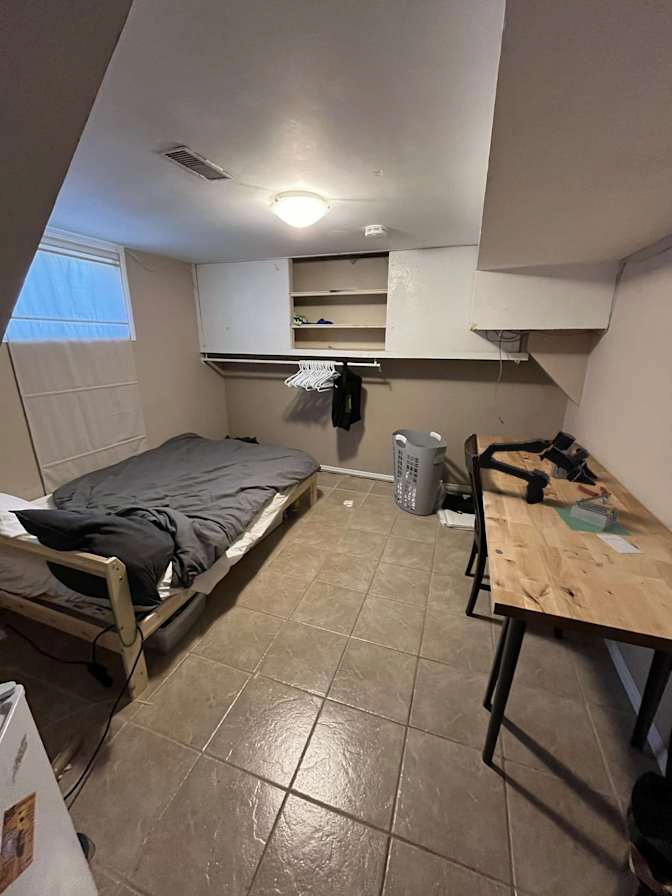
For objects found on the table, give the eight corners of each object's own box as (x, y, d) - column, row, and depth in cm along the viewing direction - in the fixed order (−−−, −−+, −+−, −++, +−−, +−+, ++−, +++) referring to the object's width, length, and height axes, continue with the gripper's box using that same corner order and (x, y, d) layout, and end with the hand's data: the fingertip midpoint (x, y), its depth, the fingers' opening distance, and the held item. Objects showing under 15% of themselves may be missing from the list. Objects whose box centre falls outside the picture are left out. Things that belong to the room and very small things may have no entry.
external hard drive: (618, 557, 122) (594, 537, 134) (643, 557, 122) (617, 538, 134) (619, 552, 122) (595, 534, 133) (644, 553, 121) (618, 534, 133)
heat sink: (568, 518, 146) (571, 501, 144) (583, 511, 152) (586, 494, 150) (602, 531, 136) (606, 512, 134) (616, 523, 142) (621, 505, 140)
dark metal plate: (579, 503, 146) (578, 501, 146) (582, 501, 147) (581, 499, 147) (608, 496, 137) (607, 494, 137) (611, 494, 138) (610, 492, 138)
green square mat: (570, 532, 137) (571, 529, 137) (552, 509, 156) (553, 507, 155) (631, 538, 133) (632, 536, 132) (605, 514, 152) (606, 512, 151)
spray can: (567, 475, 196) (574, 439, 191) (567, 480, 190) (574, 443, 184) (549, 472, 201) (556, 437, 195) (549, 477, 194) (555, 440, 189)
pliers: (591, 504, 162) (592, 499, 161) (576, 488, 181) (577, 483, 180) (621, 508, 159) (622, 502, 158) (602, 491, 178) (603, 486, 177)
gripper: (569, 448, 142) (610, 473, 136) (575, 439, 156) (612, 461, 150) (551, 470, 148) (589, 494, 141) (558, 459, 162) (593, 481, 156)
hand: (596, 481), depth 147 cm, fingers open, 9 cm apart
